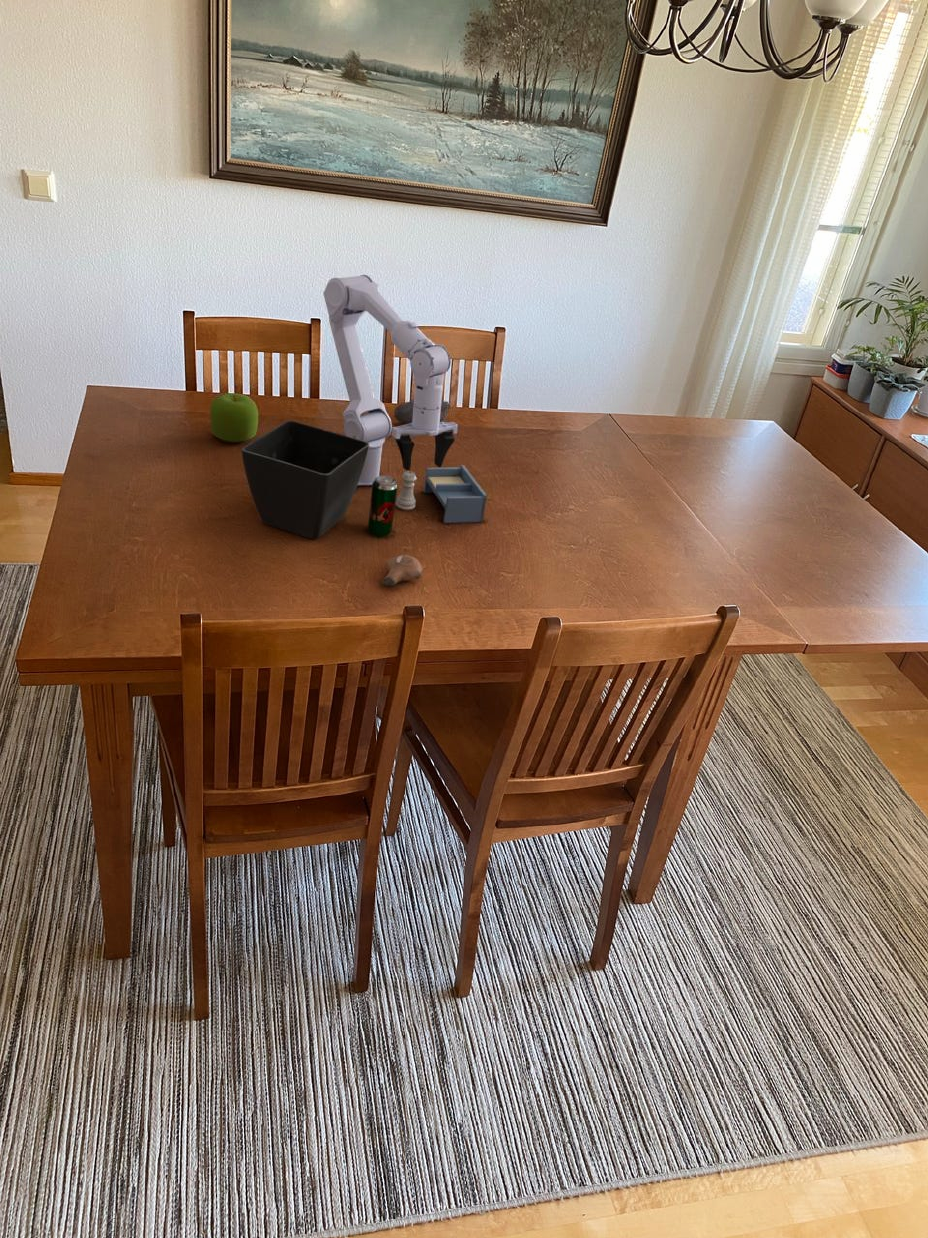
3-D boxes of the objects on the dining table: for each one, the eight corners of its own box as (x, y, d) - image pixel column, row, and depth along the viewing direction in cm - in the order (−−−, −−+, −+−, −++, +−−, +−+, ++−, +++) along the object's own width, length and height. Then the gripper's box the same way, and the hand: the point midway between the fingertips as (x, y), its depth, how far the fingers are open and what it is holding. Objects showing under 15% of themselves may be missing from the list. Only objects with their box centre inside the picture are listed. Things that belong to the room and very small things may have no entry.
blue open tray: (444, 522, 194) (448, 496, 190) (423, 491, 205) (427, 465, 201) (482, 521, 197) (487, 495, 193) (459, 490, 208) (463, 465, 205)
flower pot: (237, 524, 179) (238, 447, 170) (284, 490, 194) (288, 417, 185) (321, 553, 175) (327, 475, 166) (363, 516, 190) (371, 443, 181)
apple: (251, 450, 208) (252, 406, 202) (205, 443, 208) (205, 399, 202) (261, 432, 218) (263, 389, 212) (217, 425, 217) (217, 382, 211)
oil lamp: (371, 572, 174) (385, 595, 168) (371, 555, 171) (384, 577, 165) (414, 564, 177) (429, 586, 171) (414, 547, 174) (429, 568, 168)
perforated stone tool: (393, 426, 234) (396, 401, 230) (391, 419, 238) (394, 394, 234) (449, 431, 237) (453, 406, 234) (446, 423, 242) (450, 398, 238)
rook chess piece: (406, 512, 195) (410, 479, 190) (391, 505, 197) (395, 472, 192) (419, 507, 198) (424, 474, 194) (404, 499, 200) (408, 467, 196)
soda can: (395, 531, 187) (402, 479, 180) (384, 540, 183) (390, 488, 176) (375, 523, 188) (380, 472, 182) (362, 532, 184) (368, 480, 178)
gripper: (403, 414, 179) (399, 477, 186) (466, 409, 186) (460, 470, 193) (389, 403, 184) (385, 465, 191) (451, 398, 191) (445, 458, 198)
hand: (422, 467), depth 192 cm, fingers open, 7 cm apart
